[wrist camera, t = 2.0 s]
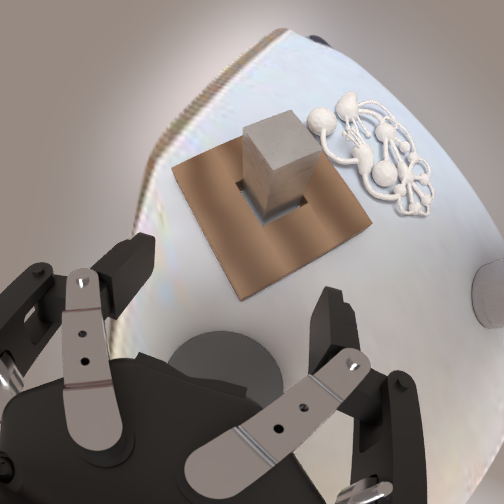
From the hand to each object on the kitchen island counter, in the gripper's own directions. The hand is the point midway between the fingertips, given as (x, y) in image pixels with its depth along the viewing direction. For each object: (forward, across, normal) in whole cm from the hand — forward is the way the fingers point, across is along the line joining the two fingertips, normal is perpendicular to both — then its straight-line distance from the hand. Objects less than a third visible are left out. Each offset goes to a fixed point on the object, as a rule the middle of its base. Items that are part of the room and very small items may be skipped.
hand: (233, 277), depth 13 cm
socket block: (+20, 0, +3) cm, 20 cm away
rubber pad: (+6, -1, +18) cm, 19 cm away
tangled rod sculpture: (+29, -12, -5) cm, 32 cm away
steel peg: (+20, 0, +3) cm, 20 cm away
